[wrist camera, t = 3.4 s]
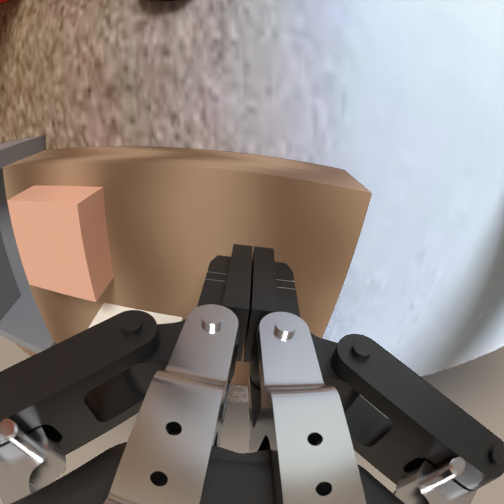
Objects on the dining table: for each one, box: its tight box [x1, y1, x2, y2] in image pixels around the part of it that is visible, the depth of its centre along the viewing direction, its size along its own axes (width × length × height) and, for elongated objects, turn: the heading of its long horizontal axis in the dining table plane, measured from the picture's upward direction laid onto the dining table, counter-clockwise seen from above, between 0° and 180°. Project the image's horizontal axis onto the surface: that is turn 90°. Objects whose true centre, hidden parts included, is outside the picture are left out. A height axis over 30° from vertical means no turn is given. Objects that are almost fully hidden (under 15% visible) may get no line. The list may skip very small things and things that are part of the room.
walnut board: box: [3, 147, 372, 386], centre depth 14 cm, size 18×13×4 cm
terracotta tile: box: [7, 185, 114, 302], centre depth 10 cm, size 4×4×2 cm
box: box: [0, 135, 57, 353], centre depth 14 cm, size 8×15×5 cm, turn 173°
